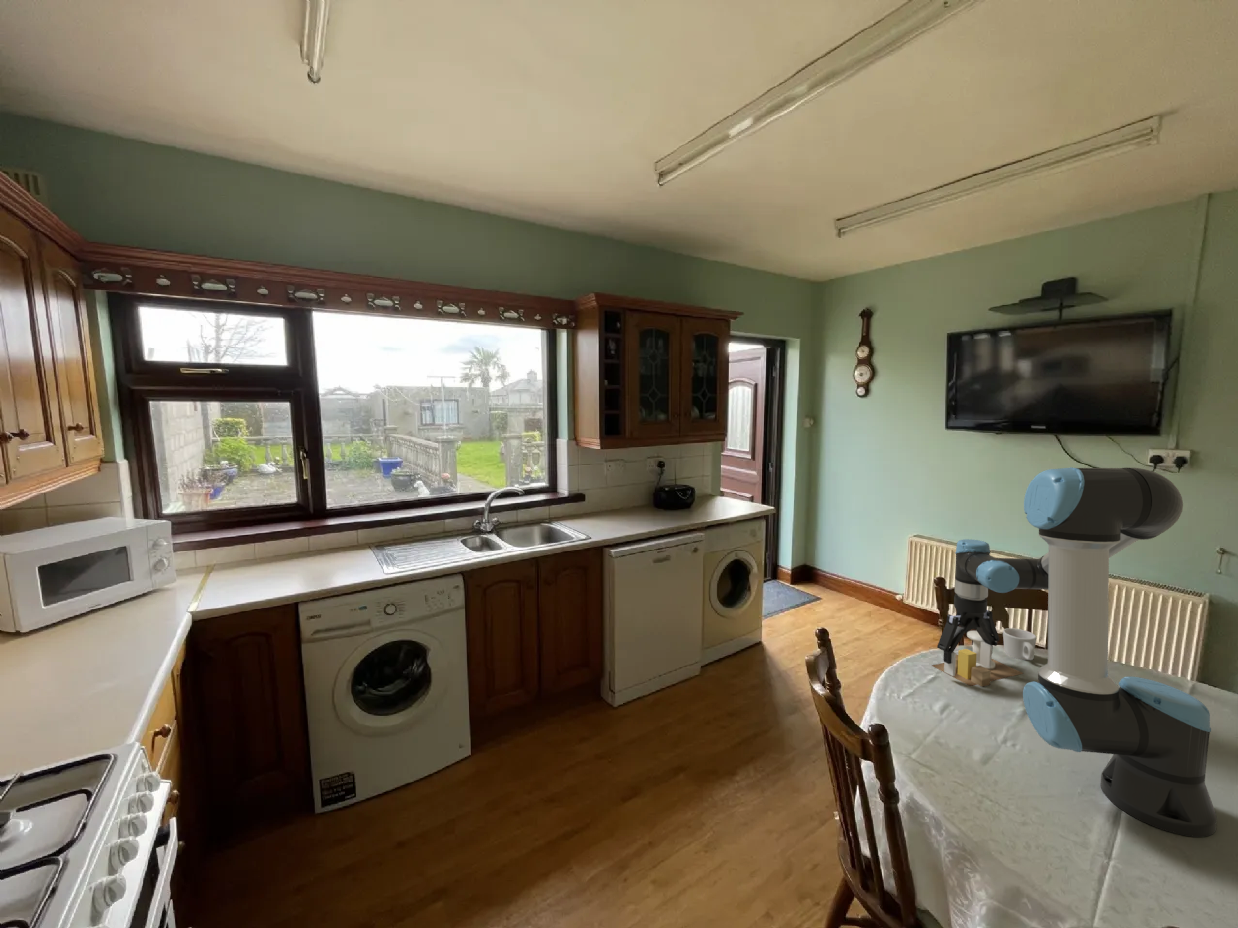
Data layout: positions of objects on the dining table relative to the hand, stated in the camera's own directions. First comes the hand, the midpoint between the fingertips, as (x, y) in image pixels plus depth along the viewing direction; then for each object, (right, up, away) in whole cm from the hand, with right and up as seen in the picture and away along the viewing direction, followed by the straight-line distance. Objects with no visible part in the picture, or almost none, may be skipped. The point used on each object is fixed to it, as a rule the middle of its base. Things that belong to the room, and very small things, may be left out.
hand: (967, 669), depth 141 cm
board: (+6, -3, +4) cm, 7 cm away
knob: (+9, -1, +7) cm, 11 cm away
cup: (+23, -2, +11) cm, 26 cm away
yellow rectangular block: (0, -2, +1) cm, 2 cm away
